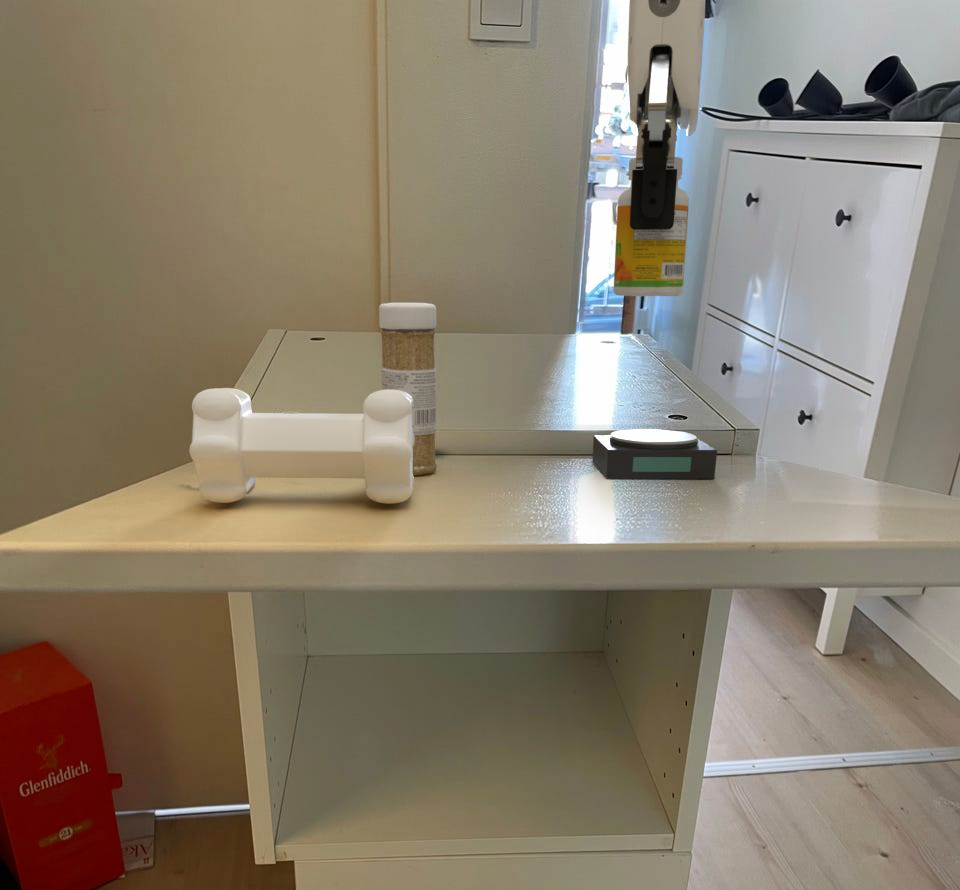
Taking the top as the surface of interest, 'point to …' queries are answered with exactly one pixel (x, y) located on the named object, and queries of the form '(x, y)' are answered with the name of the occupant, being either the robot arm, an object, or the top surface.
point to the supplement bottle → (651, 248)
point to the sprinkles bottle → (412, 371)
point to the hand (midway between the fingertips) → (652, 228)
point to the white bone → (302, 445)
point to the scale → (653, 455)
